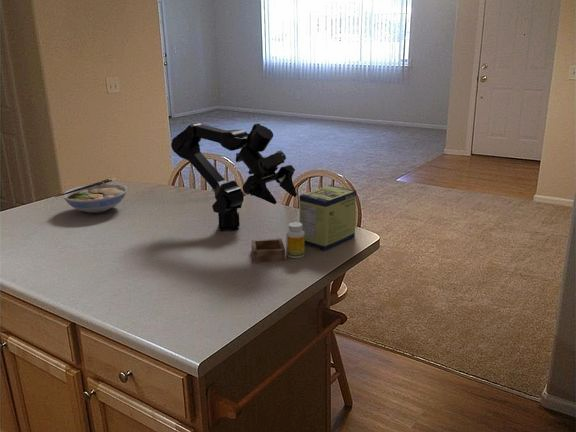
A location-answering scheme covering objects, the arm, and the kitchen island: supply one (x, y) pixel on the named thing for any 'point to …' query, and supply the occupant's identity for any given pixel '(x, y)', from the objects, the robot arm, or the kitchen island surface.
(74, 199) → the ramen bowl
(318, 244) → the protein box
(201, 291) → the kitchen island surface
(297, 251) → the supplement bottle
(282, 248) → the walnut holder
